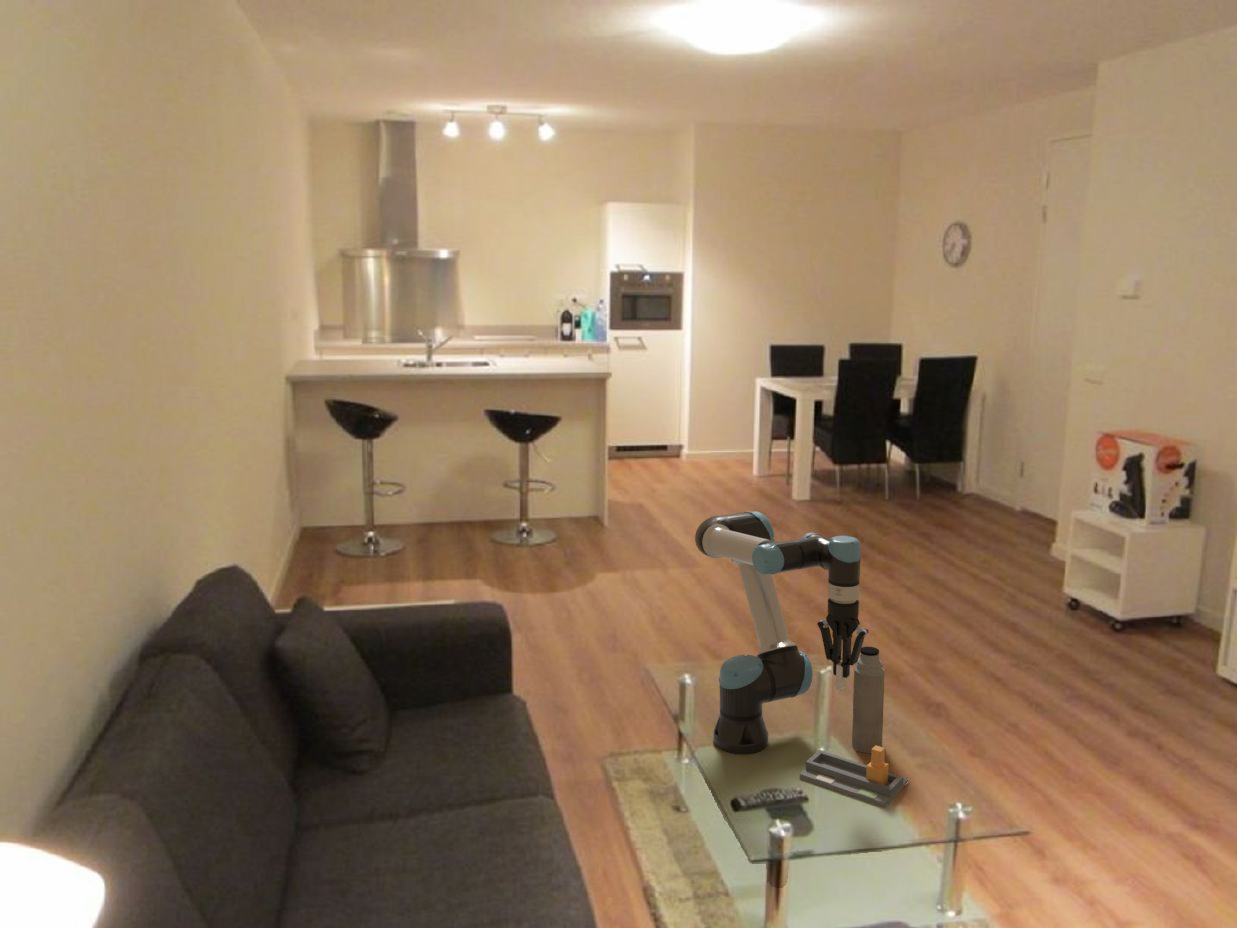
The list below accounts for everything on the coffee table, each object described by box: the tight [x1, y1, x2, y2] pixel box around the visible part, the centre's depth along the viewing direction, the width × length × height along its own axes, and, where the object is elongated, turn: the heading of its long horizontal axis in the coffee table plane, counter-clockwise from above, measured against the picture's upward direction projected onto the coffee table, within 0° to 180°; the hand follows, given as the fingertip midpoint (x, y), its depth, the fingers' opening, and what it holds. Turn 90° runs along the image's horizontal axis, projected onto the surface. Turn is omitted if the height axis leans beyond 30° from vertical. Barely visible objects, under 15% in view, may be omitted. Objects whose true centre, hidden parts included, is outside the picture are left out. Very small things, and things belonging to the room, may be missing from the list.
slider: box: [866, 745, 890, 785], centre depth 236 cm, size 4×4×9 cm
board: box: [799, 749, 909, 808], centre depth 241 cm, size 23×14×3 cm, turn 51°
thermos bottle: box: [851, 646, 886, 754], centre depth 256 cm, size 8×8×28 cm
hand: (840, 687), depth 239 cm, fingers closed
